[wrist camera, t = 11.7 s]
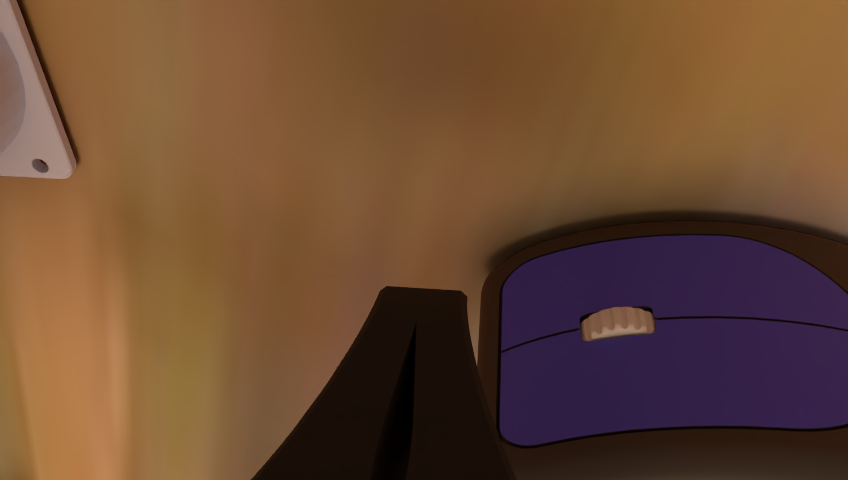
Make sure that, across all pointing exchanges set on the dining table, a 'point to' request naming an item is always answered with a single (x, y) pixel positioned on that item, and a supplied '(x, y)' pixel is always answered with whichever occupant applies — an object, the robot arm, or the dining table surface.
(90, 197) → the dining table surface
